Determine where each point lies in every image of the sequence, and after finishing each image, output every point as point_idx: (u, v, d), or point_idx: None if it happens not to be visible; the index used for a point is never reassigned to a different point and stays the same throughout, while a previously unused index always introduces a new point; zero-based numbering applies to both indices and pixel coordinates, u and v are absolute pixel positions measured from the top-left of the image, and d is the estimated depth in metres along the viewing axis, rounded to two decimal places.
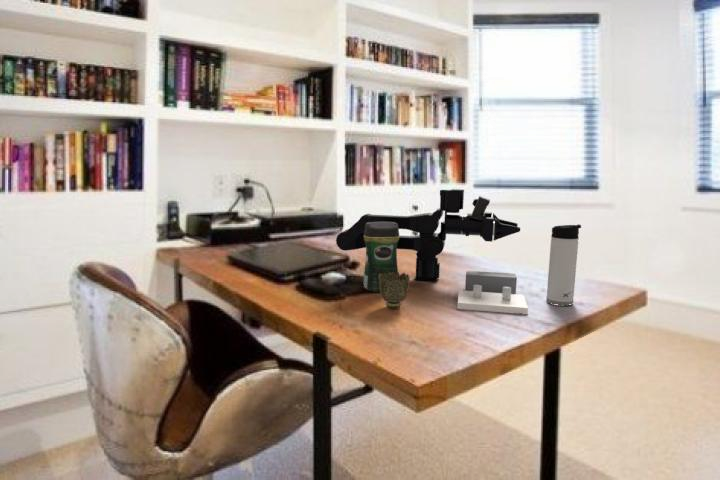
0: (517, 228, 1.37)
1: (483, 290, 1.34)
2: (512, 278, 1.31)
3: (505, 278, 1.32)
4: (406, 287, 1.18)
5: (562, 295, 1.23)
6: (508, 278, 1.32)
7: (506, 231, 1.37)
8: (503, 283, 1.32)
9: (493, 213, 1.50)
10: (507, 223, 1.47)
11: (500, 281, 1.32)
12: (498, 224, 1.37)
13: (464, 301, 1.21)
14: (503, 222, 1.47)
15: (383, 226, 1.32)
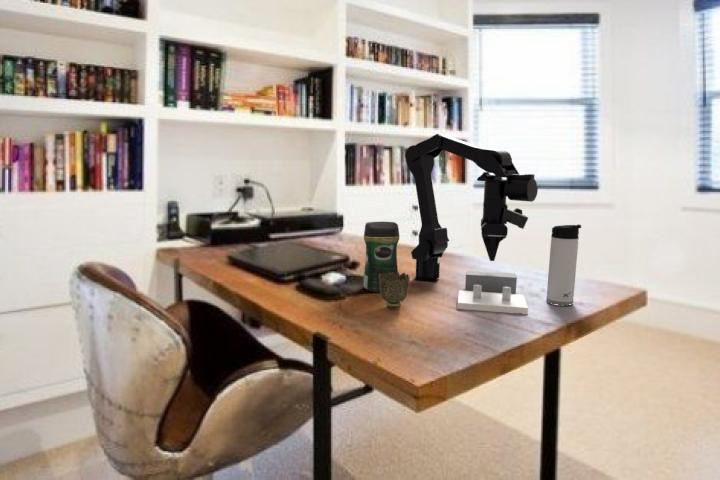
0: (493, 258, 1.29)
1: (483, 290, 1.34)
2: (512, 278, 1.31)
3: (505, 278, 1.32)
4: (406, 287, 1.18)
5: (562, 295, 1.23)
6: (508, 278, 1.32)
7: (490, 247, 1.28)
8: (503, 283, 1.32)
9: None
10: None
11: (500, 281, 1.32)
12: (499, 239, 1.27)
13: (464, 301, 1.21)
14: None
15: (383, 226, 1.32)
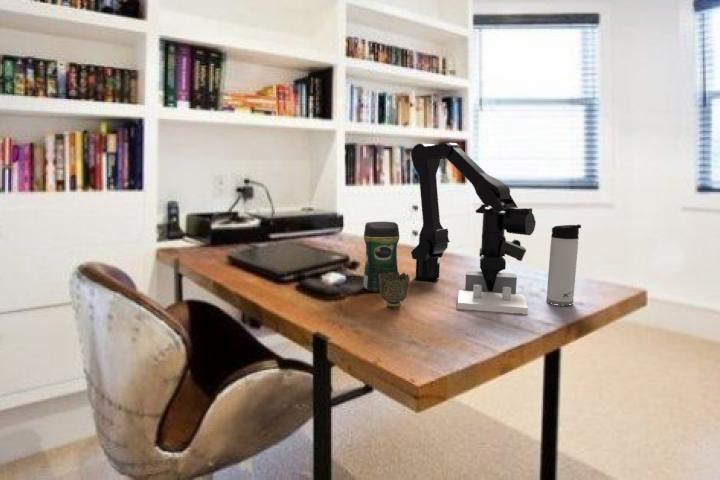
0: (491, 288, 1.32)
1: (483, 290, 1.34)
2: (512, 278, 1.31)
3: (505, 278, 1.32)
4: (406, 287, 1.18)
5: (562, 295, 1.23)
6: (508, 278, 1.32)
7: (488, 278, 1.31)
8: (503, 283, 1.32)
9: None
10: None
11: (500, 281, 1.32)
12: (497, 271, 1.30)
13: (464, 301, 1.21)
14: None
15: (383, 226, 1.32)
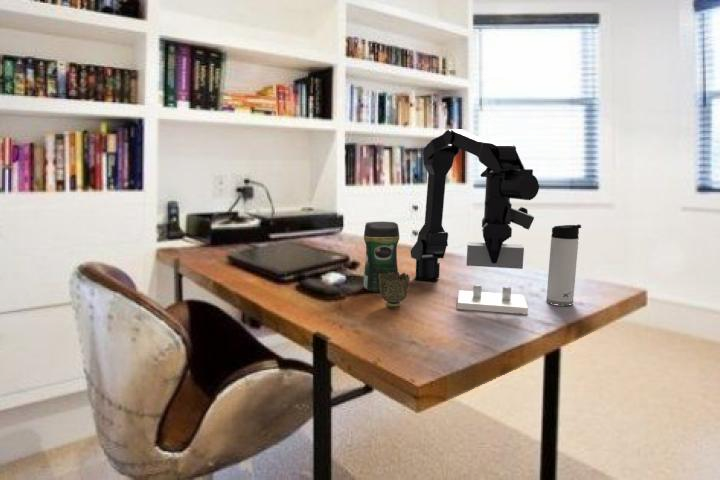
0: (495, 260, 1.19)
1: (486, 262, 1.20)
2: (519, 248, 1.18)
3: (511, 249, 1.19)
4: (406, 287, 1.18)
5: (562, 295, 1.23)
6: (514, 249, 1.19)
7: (492, 248, 1.18)
8: (509, 254, 1.19)
9: None
10: None
11: (506, 253, 1.19)
12: (502, 240, 1.17)
13: (464, 301, 1.21)
14: None
15: (383, 226, 1.32)
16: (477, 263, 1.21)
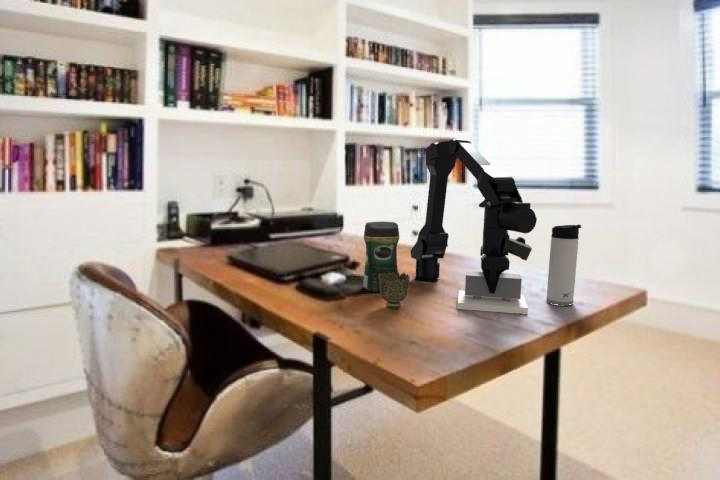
0: (493, 290, 1.21)
1: (485, 292, 1.22)
2: (517, 279, 1.20)
3: (509, 279, 1.20)
4: (406, 287, 1.18)
5: (562, 295, 1.23)
6: (512, 279, 1.20)
7: (490, 279, 1.19)
8: (507, 285, 1.20)
9: None
10: None
11: (504, 283, 1.20)
12: (499, 271, 1.18)
13: (464, 301, 1.21)
14: None
15: (383, 226, 1.32)
16: (475, 293, 1.22)
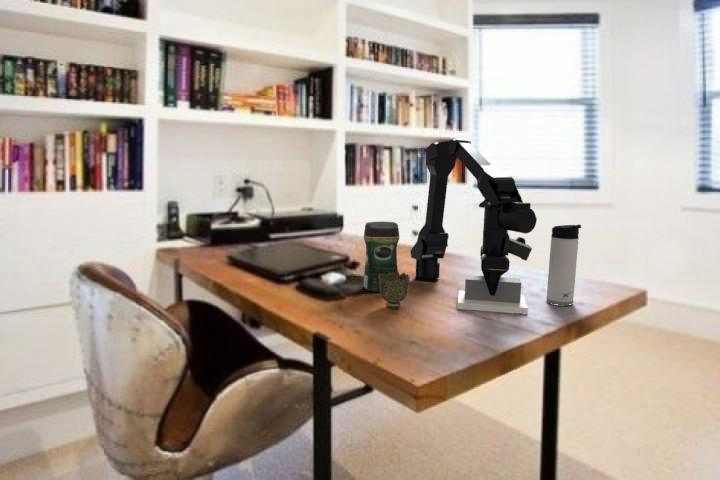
0: (494, 292, 1.19)
1: (484, 296, 1.22)
2: (516, 283, 1.20)
3: (509, 283, 1.20)
4: (406, 287, 1.18)
5: (562, 295, 1.23)
6: (512, 283, 1.20)
7: (491, 281, 1.18)
8: (506, 289, 1.20)
9: None
10: None
11: (504, 287, 1.20)
12: (500, 273, 1.16)
13: (464, 301, 1.21)
14: None
15: (383, 226, 1.32)
16: (475, 297, 1.22)
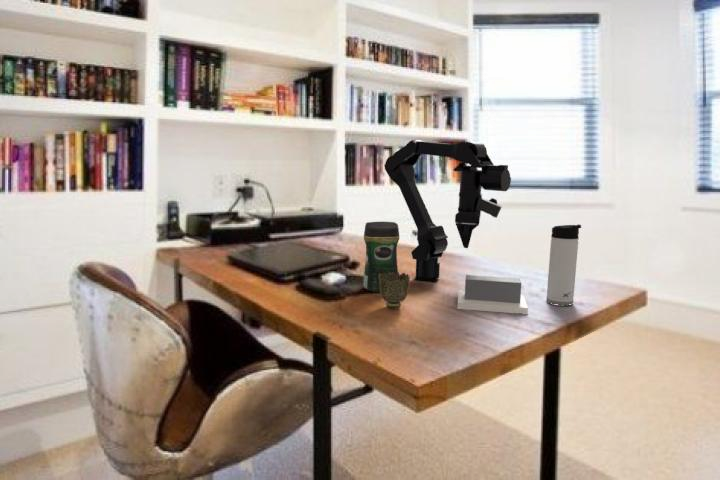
0: (467, 245, 1.35)
1: (484, 296, 1.22)
2: (516, 283, 1.20)
3: (509, 283, 1.20)
4: (406, 287, 1.18)
5: (562, 295, 1.23)
6: (512, 283, 1.20)
7: (464, 235, 1.34)
8: (506, 289, 1.20)
9: None
10: None
11: (504, 287, 1.20)
12: (472, 227, 1.32)
13: (464, 301, 1.21)
14: None
15: (383, 226, 1.32)
16: (475, 297, 1.22)
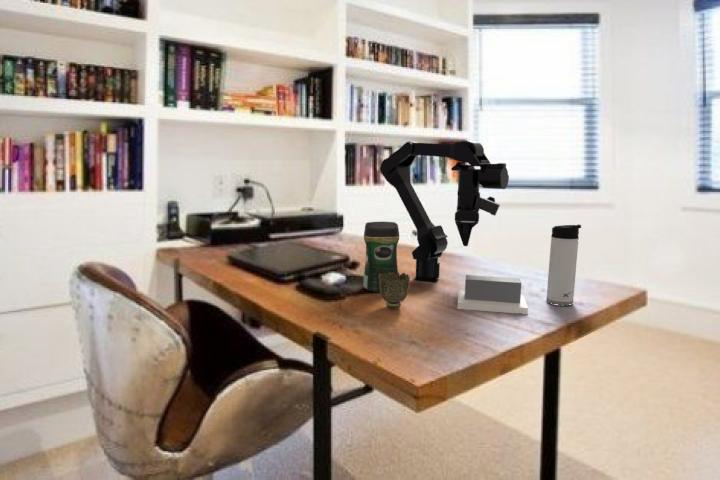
0: (466, 243, 1.36)
1: (484, 296, 1.22)
2: (516, 283, 1.20)
3: (509, 283, 1.20)
4: (406, 287, 1.18)
5: (562, 295, 1.23)
6: (512, 283, 1.20)
7: (464, 233, 1.35)
8: (506, 289, 1.20)
9: None
10: None
11: (504, 287, 1.20)
12: (471, 225, 1.34)
13: (464, 301, 1.21)
14: None
15: (383, 226, 1.32)
16: (475, 297, 1.22)
